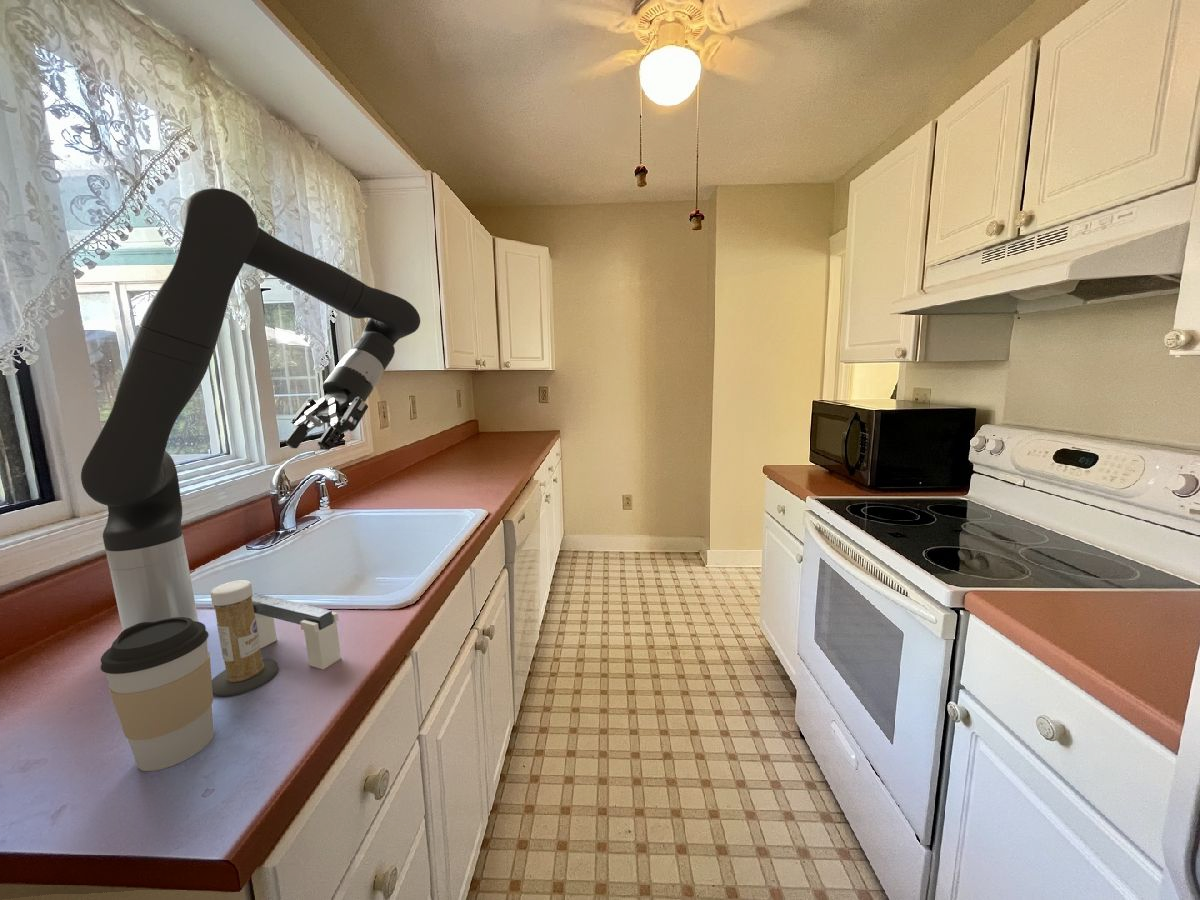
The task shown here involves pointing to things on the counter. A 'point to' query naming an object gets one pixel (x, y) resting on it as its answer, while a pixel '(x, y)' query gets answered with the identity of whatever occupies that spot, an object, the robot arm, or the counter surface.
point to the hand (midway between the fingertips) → (306, 446)
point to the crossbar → (290, 611)
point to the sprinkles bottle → (237, 630)
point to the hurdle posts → (307, 639)
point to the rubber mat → (227, 688)
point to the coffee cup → (162, 690)
